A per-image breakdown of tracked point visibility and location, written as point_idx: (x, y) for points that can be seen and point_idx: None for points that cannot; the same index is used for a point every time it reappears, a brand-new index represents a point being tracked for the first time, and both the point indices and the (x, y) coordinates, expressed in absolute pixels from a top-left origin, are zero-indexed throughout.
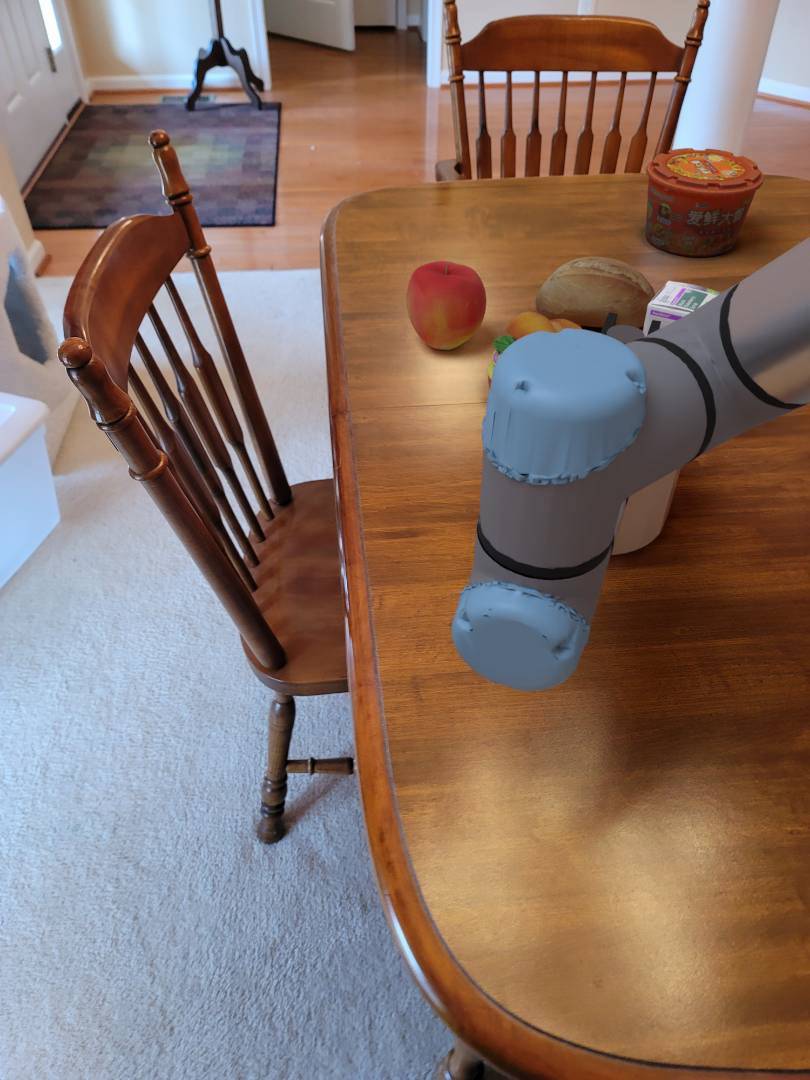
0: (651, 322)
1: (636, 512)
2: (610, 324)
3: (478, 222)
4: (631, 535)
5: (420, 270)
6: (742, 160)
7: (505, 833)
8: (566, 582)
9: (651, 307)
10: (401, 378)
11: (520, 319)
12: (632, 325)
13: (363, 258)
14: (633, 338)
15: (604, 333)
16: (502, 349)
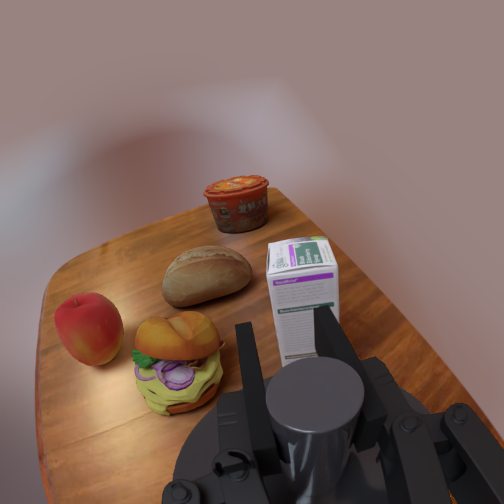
0: (316, 314)
1: None
2: (251, 353)
3: (122, 255)
4: None
5: (56, 310)
6: (251, 176)
7: None
8: None
9: (272, 278)
10: (77, 405)
11: (141, 332)
12: (240, 287)
13: (58, 301)
14: (342, 397)
15: (252, 385)
16: (140, 361)
